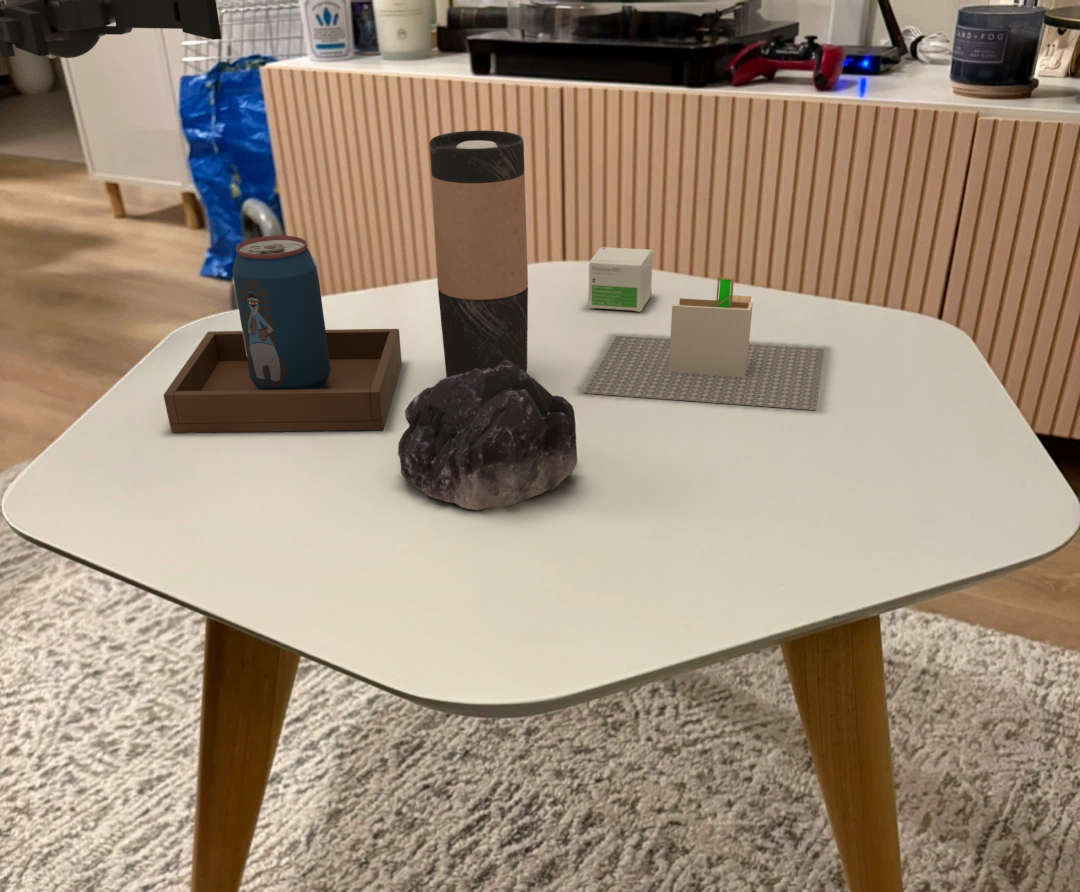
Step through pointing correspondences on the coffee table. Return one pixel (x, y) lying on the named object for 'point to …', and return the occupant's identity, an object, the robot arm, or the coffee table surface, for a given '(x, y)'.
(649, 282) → the small box
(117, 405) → the coffee table surface
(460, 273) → the travel mug
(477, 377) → the crystal cluster
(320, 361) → the soda can
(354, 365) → the tray
